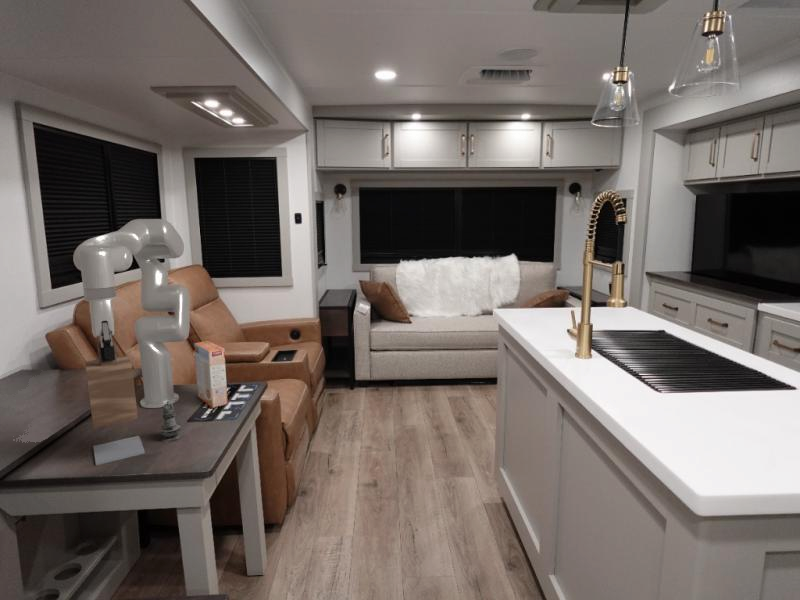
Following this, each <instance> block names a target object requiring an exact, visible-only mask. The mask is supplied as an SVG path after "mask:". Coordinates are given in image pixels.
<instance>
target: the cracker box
mask: <svg viewBox="0 0 800 600" xmlns="http://www.w3.org/2000/svg"><path fill="white" fill-rule="evenodd" d="M193 346H194V356H195V373H196V385H197V398H199V399H200V400H201V401H203V402H204V403H205V404H206V405H208V406H209V407H211V408H212V409H215V408H218V406H219V407H223V406H226V405H228V403H229V402H228V401H229V400H228V387H227V372H226V371H227V370H226V356H225V355H226V354H225V348H224V347H222V346H220V345H219V344H216V343H214V342H213V341H210V340H204V341H200V342H199V341H198V342H195V343H194V345H193Z"/></svg>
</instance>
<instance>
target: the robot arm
mask: <svg viewBox="0 0 800 600" xmlns="http://www.w3.org/2000/svg"><path fill="white" fill-rule="evenodd" d="M184 251H185V245H184V241H183V239H182V237H181V235H180V234H179V232H178V230H176V227H174V225H172V223H171V222H169V221H168V220H167V219H164V218H137V219H132V220H130V221H129V222H127V223H126V224H125V225H124V226H122V227H121V228H120V229H118V230H117V231H111V232H109V233H105V234H102V235H98V236H97V235H96V236H95V237H91V238H88V239H86V240H84V241H83V242H82V243H80V244H78V246H77V248H76V249H75V250H74V251H73V257H72V258H73V259H72V260H73V263H74V264H73V265H74V266H75V267H76V268H77V270H79V271H80V272H81V274H80V275H81V278H82V279H81V280H82V288H83V289H82V290H83V298H84V301H85V302H89V314H90V315H89V316H90V323H91V332H92V335H93V338H95V339H96V338H98V342H99V341H100V342H101V347H100V351H101V360H102V362H106V361H112V360H115V353H114V346H113V343H112V340H113V336H114V335H115V318H114V307H113V300H115V299H117V298H118V297H117V296H118V295H117V289H116V288H117V287H116V280H115V279H116V278H115V273H116V272H124V271H127V270H128V269H129V268H130V267H131V266H132V263H133V260H134V259H135V260H136V262H137V264H138V266H139V269H140V272H141V285H140V287H141V288H140V305H141V308H142V309H143V311H145V312H149V313H166V312H168V313H170V312H171V313H172V312H173V313H174V314H167V315H166V314H165V315H164V314H163V315H162V314H160V315H159V314H157V315H154V314H153V315H144V316H142V317H139V318H138V319H137V320H136V321H135V323H134V326H133V331H134V335H135V338H136V341H137V346H138V351H139V357H140V366H141V376H142V384H143V385H142V386H143V392H144V393H143V394H144V397H143V398H142V399H141V400H140V402H139V403H140V405H139V406H141V407H142V408H145V409H157V408H160V409H161V408H163V406H164V405H165V404H167V401H169V403H171V404H173V405H174V404H176V403H177V402H179V400H180V396H179V394H178V393H176V392H175V390H174V382H173V380H174V379H173V371H172V370H173V369H172V360H171V353H170V350H169V347H167V346H166V344H164V343H181V342H185V341H186V340H188V338H189V336H190V335H189V334H190V329H191V328H190V326H191V323H190V322H191V321H190V320H191V319H190V318H191V295H190V291H189V289H188V288H187V287H186V286H184V285H181V284H169V273H168V270H167V268H166V267H165V266H164V265H163V263H162V262H160V261H159V260H161V259H165V260H166V259H179V258H180V257H182V256H183V254H184ZM133 258H134V259H133Z"/></svg>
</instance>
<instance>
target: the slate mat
mask: <svg viewBox="0 0 800 600" xmlns="http://www.w3.org/2000/svg"><path fill="white" fill-rule="evenodd" d="M92 447H93V454H94V462H95V466H99V465H104V464H107V463H111V462H115V461H121V460H123V459H124V460H125V459H128V458H131V457H132V458H133V457H136V456H140V455H143V454H144V455H145V454H146V452H145V448H144V446H143V442H142V440H141V438H140V435H135V436H132V437H127V438H122V439H117V440H114V441H110V442H106V443H101V444H96V445H93V446H92Z"/></svg>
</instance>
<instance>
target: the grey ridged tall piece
mask: <svg viewBox="0 0 800 600" xmlns="http://www.w3.org/2000/svg"><path fill="white" fill-rule="evenodd" d="M162 409H163V415H162V418H163V425H162V426H160V427H159V431H160V432H161V435H162V436H163V437H162V438H161V441H162V442H164V443H172V442H175V441H178V440H179V439H181V438H182V437H181V434H179V432H180V430H181V423H178V422H176V418H175V416H176V413H175V410H174V404H171V403H169V401H167V404H165V405H164V406H163V407H162Z"/></svg>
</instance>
